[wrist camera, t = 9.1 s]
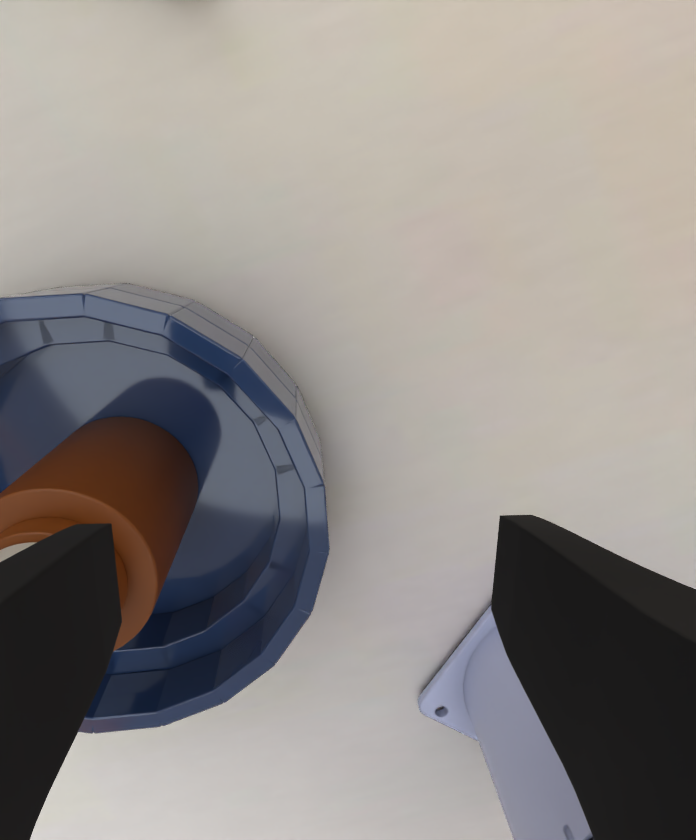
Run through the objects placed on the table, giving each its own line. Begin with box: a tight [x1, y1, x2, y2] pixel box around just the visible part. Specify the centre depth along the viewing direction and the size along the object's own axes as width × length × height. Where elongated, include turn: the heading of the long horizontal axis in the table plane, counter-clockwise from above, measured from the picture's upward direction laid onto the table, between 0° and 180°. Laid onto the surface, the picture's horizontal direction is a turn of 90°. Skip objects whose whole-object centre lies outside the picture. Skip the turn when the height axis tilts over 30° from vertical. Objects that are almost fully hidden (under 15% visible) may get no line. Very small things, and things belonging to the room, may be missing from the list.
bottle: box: [0, 417, 198, 651], centre depth 16 cm, size 5×5×8 cm
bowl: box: [0, 283, 330, 733], centre depth 18 cm, size 13×13×4 cm
